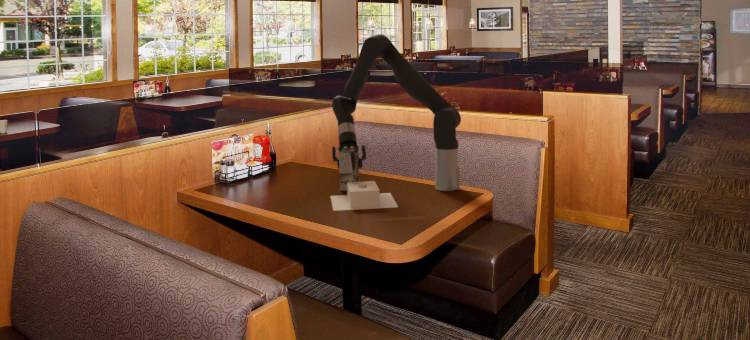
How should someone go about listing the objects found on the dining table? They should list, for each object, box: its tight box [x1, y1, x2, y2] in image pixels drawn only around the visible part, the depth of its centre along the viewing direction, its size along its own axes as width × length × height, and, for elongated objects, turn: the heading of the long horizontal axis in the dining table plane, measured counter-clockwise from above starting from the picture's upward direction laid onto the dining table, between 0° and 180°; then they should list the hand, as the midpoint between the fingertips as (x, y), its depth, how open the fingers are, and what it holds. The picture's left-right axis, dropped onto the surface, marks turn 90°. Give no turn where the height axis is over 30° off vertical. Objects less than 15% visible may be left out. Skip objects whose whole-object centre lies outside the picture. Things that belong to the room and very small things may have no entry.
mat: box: [329, 192, 399, 212], centre depth 235 cm, size 24×20×1 cm
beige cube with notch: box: [346, 180, 380, 207], centre depth 234 cm, size 11×14×6 cm
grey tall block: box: [338, 148, 361, 192], centre depth 252 cm, size 9×6×16 cm
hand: (350, 168), depth 253 cm, fingers closed on grey tall block, 7 cm apart
